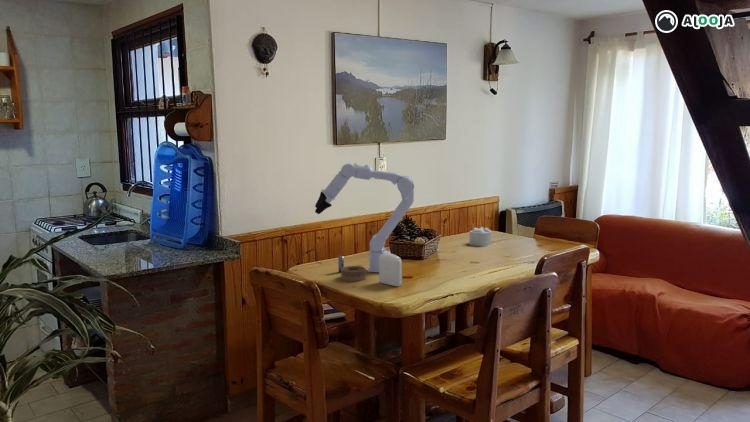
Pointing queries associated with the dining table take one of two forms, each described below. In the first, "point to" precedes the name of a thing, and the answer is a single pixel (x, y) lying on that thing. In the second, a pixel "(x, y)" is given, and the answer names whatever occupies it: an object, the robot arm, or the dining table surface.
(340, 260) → the dark grey capsule
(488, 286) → the dining table surface
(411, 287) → the dining table surface
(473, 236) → the lumpy-topped squat cylinder
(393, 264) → the white upright block
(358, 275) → the bead
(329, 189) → the robot arm
